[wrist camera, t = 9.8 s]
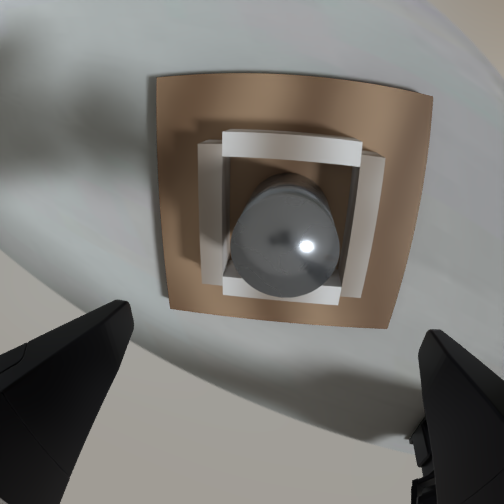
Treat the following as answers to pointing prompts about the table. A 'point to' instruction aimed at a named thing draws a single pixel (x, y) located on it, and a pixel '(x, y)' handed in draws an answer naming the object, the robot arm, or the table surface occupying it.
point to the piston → (285, 237)
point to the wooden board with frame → (289, 161)
